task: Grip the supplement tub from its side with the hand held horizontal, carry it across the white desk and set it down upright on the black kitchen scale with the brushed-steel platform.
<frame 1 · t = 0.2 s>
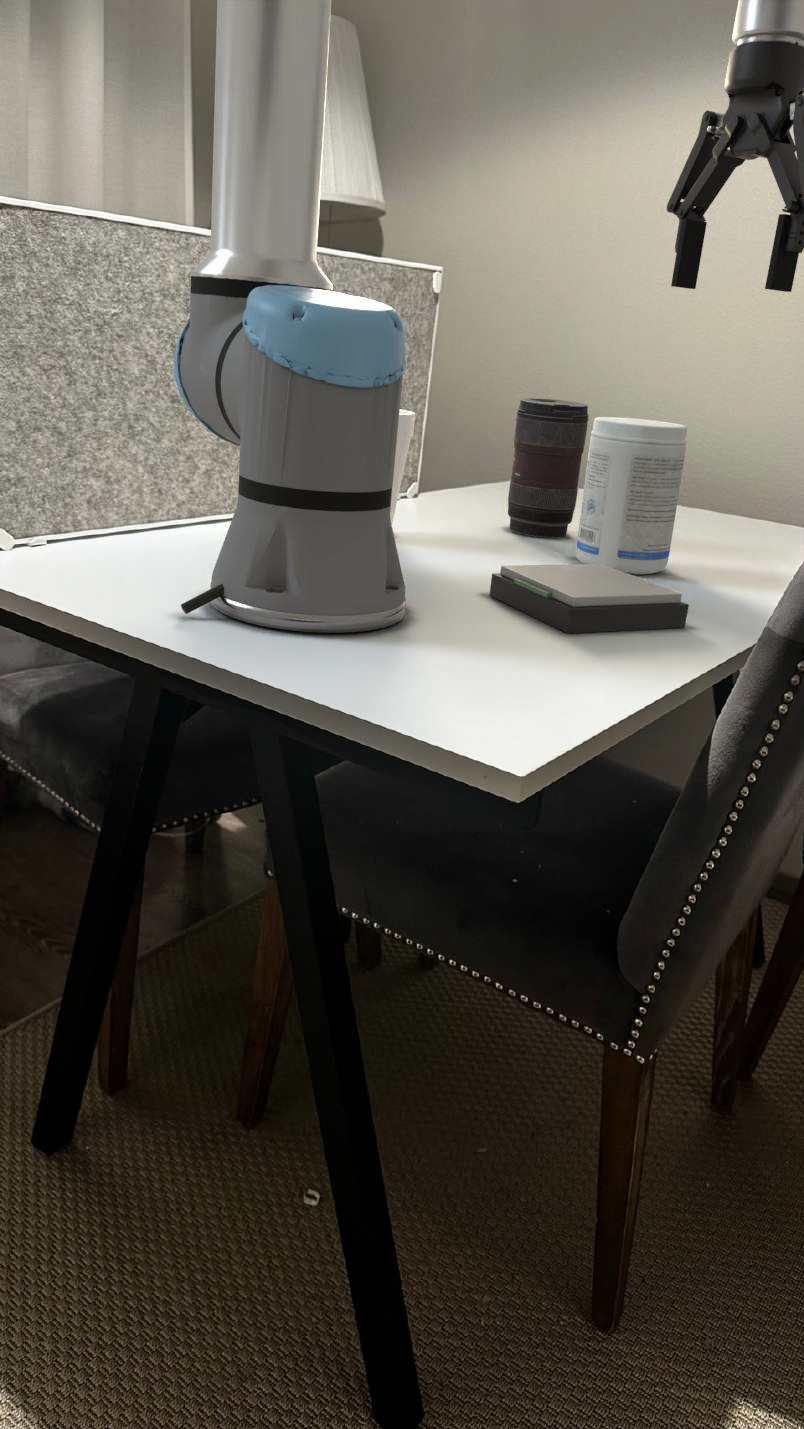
hand: (728, 289, 110), 28 cm above the table, tool pointing down, fingers open, 13 cm apart
camera lens: (536, 534, 129), on the table
scale: (584, 611, 94), on the table
supplement tub: (618, 567, 114), on the table
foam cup: (360, 534, 118), on the table
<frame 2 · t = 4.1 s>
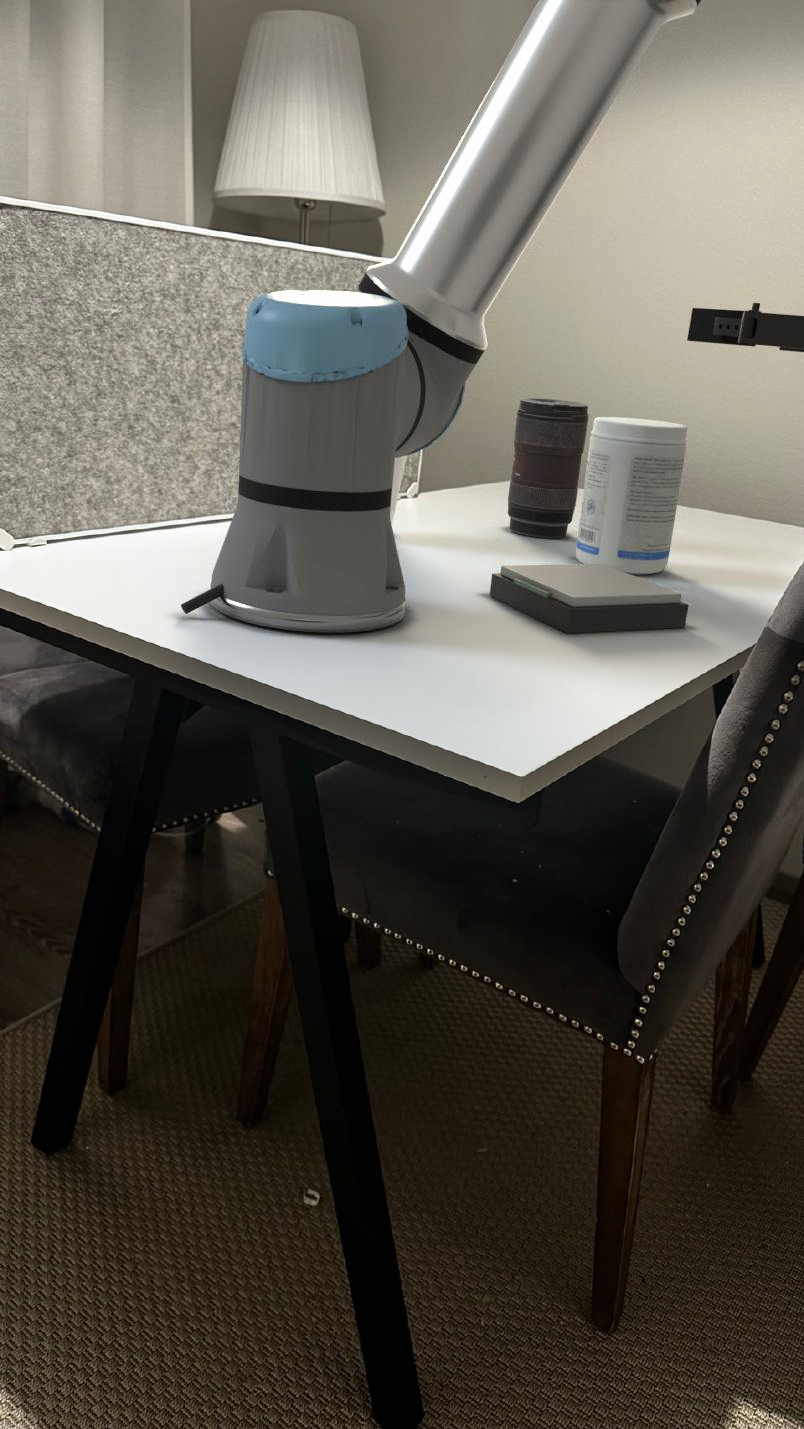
hand: (739, 330, 99), 24 cm above the table, tool horizontal, fingers open, 13 cm apart
nothing on the table moved.
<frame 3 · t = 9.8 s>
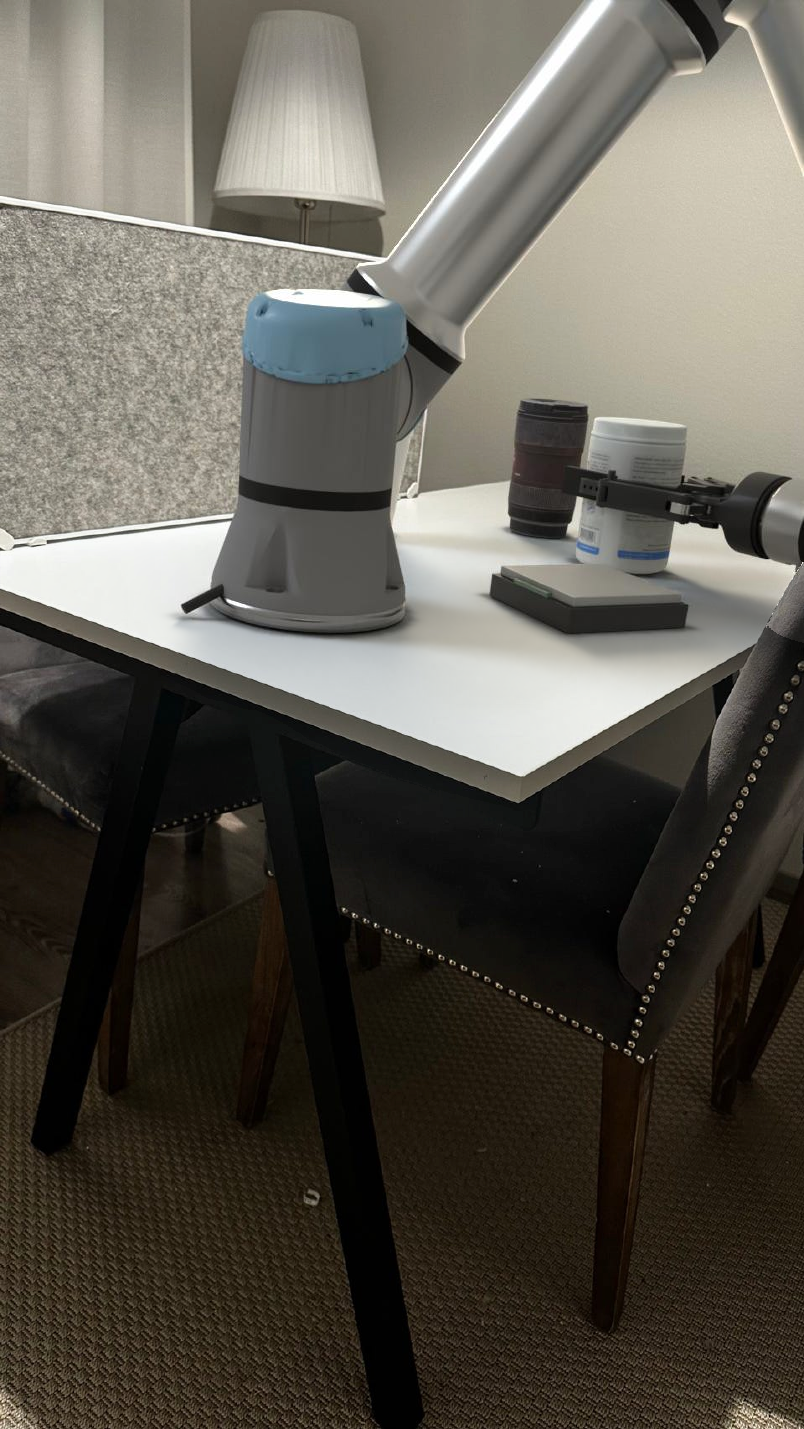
hand: (600, 478, 115), 8 cm above the table, tool horizontal, fingers closed on supplement tub, 9 cm apart
supplement tub: (618, 567, 114), on the table, touching gripper
everything else where it was.
when the fingers open (11 cm above the table, at t = 20.8 s): supplement tub stays where it is, resting on scale.
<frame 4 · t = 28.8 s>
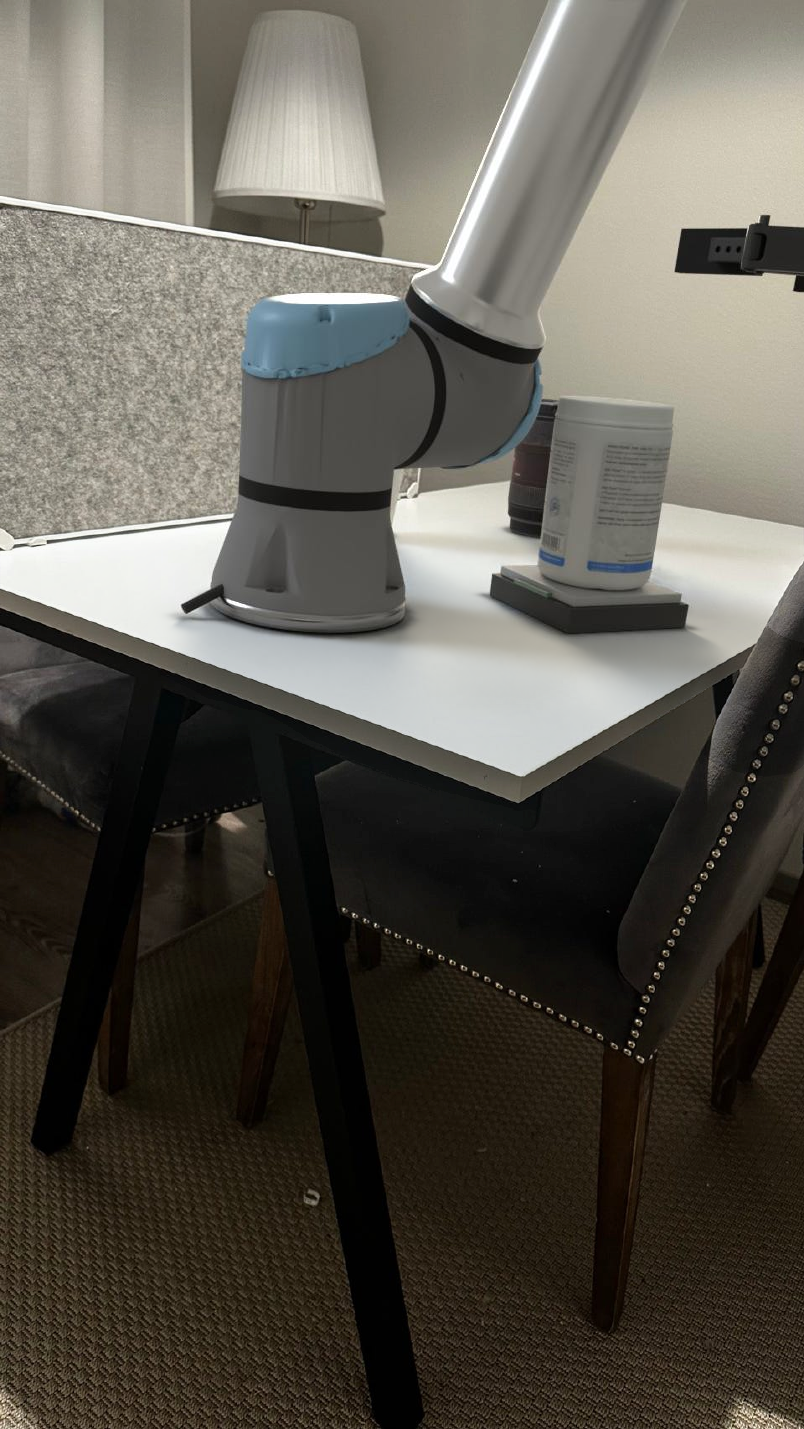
hand: (742, 262, 77), 28 cm above the table, tool horizontal, fingers open, 13 cm apart
supplement tub: (590, 581, 93), point 3 cm above the table, touching scale
everything else where it was.
at the end: supplement tub inside the target area on the scale (0.1 cm from its centre), point 2.6 cm above the scale's base; supplement tub tilted 0°; the gripper is holding nothing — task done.
